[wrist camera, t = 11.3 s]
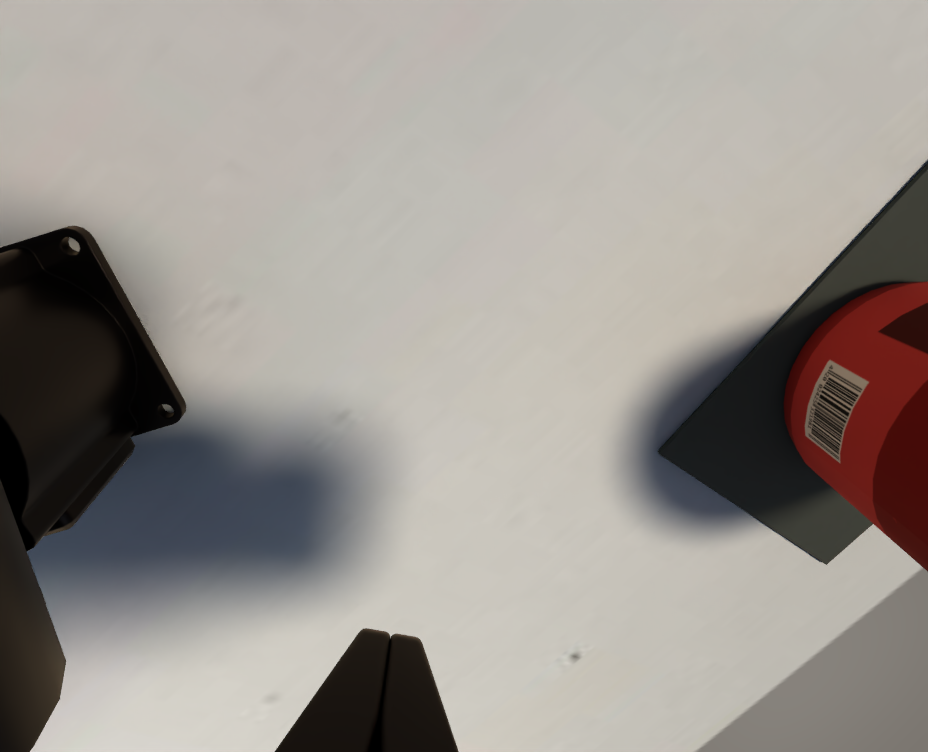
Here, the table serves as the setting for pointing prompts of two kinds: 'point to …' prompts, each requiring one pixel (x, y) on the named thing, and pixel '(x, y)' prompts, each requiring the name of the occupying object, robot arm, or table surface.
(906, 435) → the canned food
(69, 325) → the robot arm
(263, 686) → the table surface
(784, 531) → the mat
